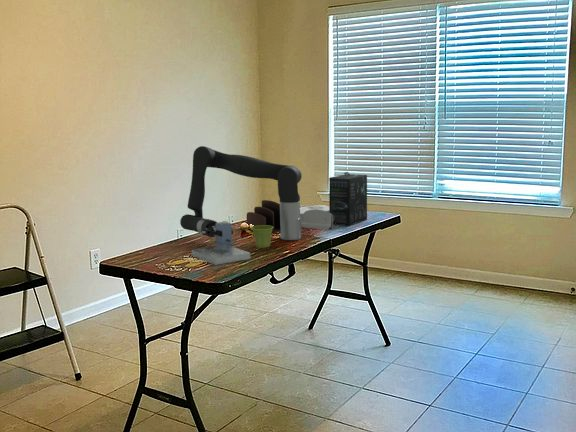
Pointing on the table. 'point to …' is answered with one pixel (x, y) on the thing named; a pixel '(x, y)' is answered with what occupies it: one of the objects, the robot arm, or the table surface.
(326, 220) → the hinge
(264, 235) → the plant pot
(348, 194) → the headset box
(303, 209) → the white rounded slab
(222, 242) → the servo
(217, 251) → the plate
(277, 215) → the letter holder
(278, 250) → the table surface
